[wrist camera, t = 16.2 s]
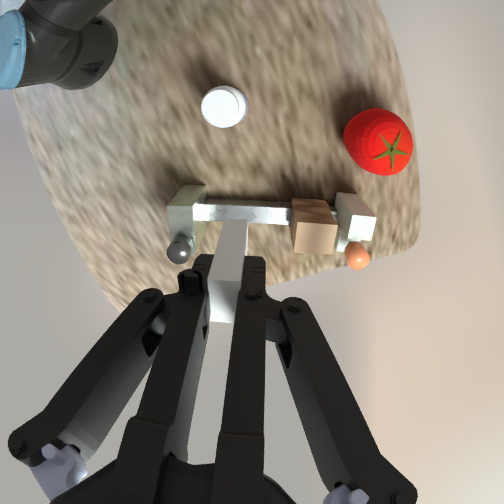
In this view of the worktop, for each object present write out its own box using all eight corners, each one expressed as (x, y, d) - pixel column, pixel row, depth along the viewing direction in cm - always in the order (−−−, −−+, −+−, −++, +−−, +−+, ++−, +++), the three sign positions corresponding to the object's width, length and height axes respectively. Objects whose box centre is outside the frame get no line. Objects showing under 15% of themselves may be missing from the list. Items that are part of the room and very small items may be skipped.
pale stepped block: (329, 234, 51) (341, 264, 42) (336, 191, 46) (352, 214, 38) (348, 236, 51) (363, 265, 42) (357, 194, 46) (376, 217, 38)
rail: (186, 224, 51) (166, 263, 40) (184, 184, 47) (159, 214, 36) (329, 232, 51) (346, 273, 39) (336, 192, 46) (358, 225, 35)
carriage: (288, 225, 49) (293, 253, 41) (291, 197, 46) (297, 220, 38) (321, 227, 49) (331, 255, 41) (325, 200, 46) (338, 223, 38)
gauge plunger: (339, 252, 45) (346, 269, 40) (343, 234, 43) (351, 250, 39) (357, 253, 45) (366, 270, 40) (362, 235, 43) (371, 251, 38)
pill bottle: (247, 124, 41) (242, 132, 31) (210, 122, 41) (194, 129, 31) (250, 89, 38) (246, 85, 28) (212, 87, 38) (196, 83, 28)
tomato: (336, 104, 38) (357, 107, 29) (393, 109, 37) (425, 115, 28) (337, 164, 44) (356, 183, 35) (391, 166, 43) (420, 185, 34)
